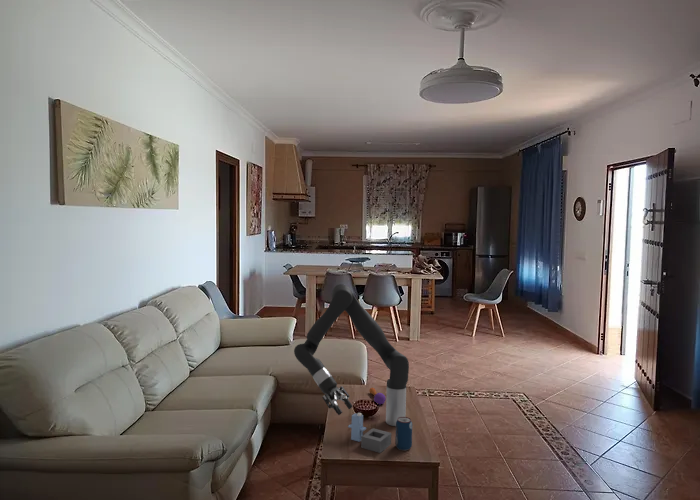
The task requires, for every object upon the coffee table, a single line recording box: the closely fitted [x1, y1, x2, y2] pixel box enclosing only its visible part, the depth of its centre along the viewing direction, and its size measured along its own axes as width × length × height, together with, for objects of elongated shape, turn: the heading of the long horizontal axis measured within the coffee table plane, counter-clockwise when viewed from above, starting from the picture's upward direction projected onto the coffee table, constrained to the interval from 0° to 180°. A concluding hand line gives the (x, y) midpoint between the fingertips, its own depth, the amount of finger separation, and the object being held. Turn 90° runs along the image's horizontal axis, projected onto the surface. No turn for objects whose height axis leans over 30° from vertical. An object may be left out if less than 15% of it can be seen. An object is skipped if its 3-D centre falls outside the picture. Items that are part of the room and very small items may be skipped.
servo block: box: [347, 412, 367, 442], centre depth 212 cm, size 8×3×12 cm, turn 59°
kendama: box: [369, 387, 386, 405], centre depth 262 cm, size 6×6×20 cm
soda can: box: [394, 416, 413, 451], centre depth 205 cm, size 7×7×12 cm
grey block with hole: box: [360, 428, 392, 454], centre depth 206 cm, size 10×9×5 cm
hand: (345, 410), depth 215 cm, fingers open, 8 cm apart
